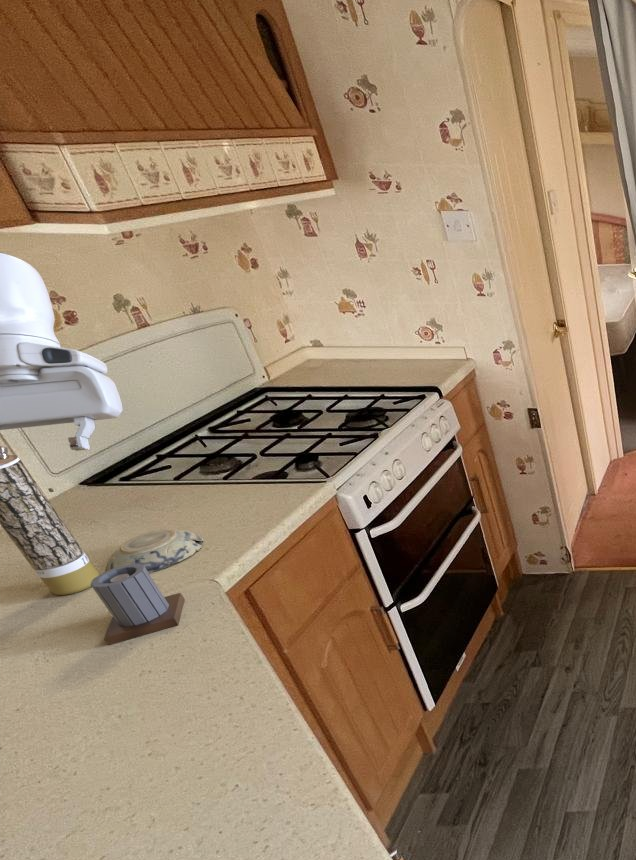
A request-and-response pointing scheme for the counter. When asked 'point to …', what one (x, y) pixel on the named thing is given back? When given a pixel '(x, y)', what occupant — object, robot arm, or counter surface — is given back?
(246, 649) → the counter surface
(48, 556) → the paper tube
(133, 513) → the counter surface
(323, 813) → the counter surface
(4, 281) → the robot arm
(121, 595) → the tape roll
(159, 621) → the stand
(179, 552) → the decorative bowl
